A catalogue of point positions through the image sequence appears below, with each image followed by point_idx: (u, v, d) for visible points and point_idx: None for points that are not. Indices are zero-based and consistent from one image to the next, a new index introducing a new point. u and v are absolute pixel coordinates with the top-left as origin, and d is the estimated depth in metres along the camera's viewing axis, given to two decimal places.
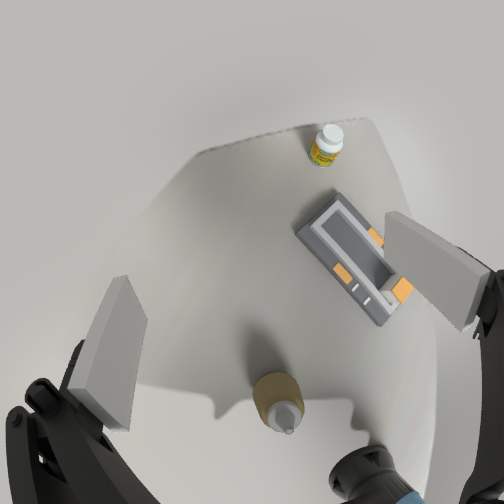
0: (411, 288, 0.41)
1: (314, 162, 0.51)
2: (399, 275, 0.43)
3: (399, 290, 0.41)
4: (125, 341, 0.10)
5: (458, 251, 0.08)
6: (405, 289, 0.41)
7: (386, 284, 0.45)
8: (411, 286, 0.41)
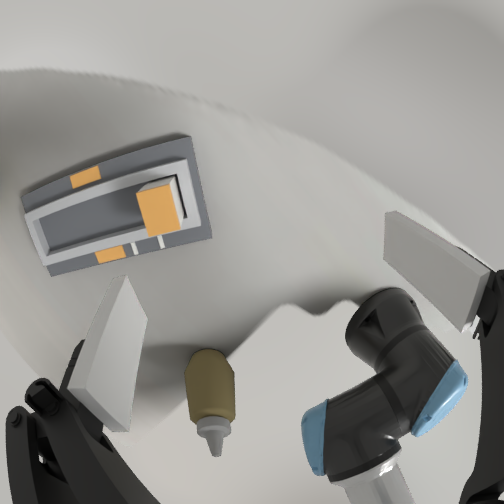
0: (168, 197, 0.23)
1: None
2: None
3: (156, 223, 0.24)
4: (125, 341, 0.10)
5: (458, 251, 0.08)
6: (162, 210, 0.24)
7: None
8: (164, 195, 0.23)
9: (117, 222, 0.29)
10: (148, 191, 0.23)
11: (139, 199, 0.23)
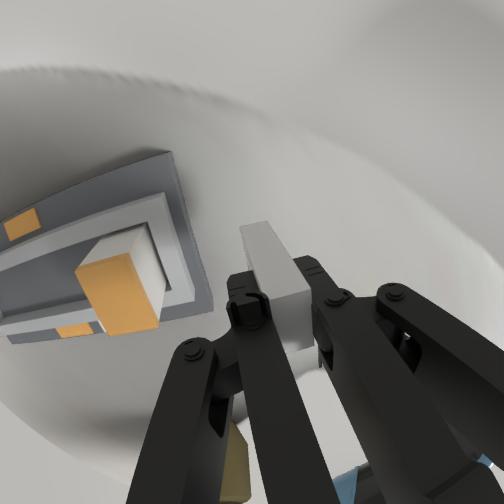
0: (128, 279, 0.12)
1: None
2: None
3: (117, 318, 0.13)
4: None
5: (289, 265, 0.10)
6: (122, 300, 0.13)
7: None
8: (122, 276, 0.12)
9: (73, 289, 0.18)
10: (93, 269, 0.12)
11: (82, 281, 0.12)
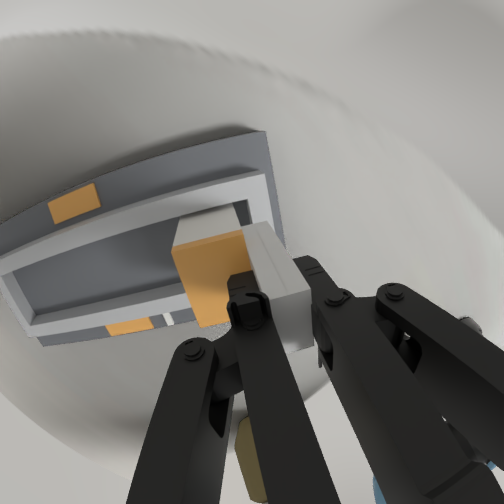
0: (241, 258, 0.12)
1: None
2: None
3: (216, 305, 0.13)
4: None
5: (289, 265, 0.10)
6: None
7: None
8: (234, 255, 0.12)
9: (135, 278, 0.18)
10: (198, 248, 0.11)
11: (179, 263, 0.12)
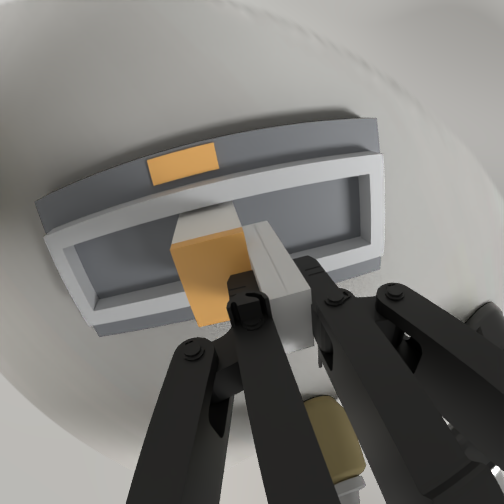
0: (241, 257, 0.12)
1: None
2: None
3: (215, 304, 0.13)
4: None
5: (289, 265, 0.10)
6: None
7: None
8: (234, 253, 0.12)
9: None
10: (198, 245, 0.11)
11: (178, 261, 0.11)
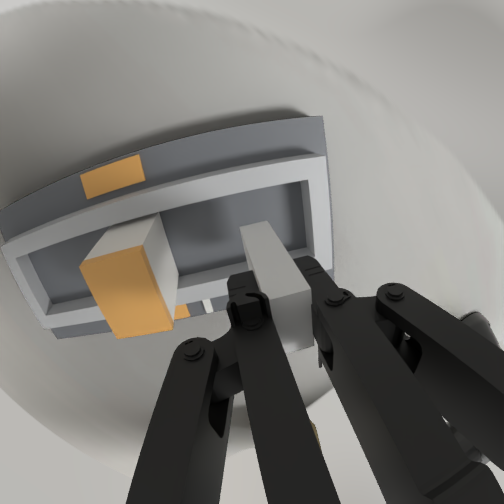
0: (141, 275, 0.11)
1: None
2: None
3: (127, 319, 0.12)
4: None
5: (289, 264, 0.10)
6: (133, 299, 0.11)
7: None
8: (134, 271, 0.11)
9: (176, 261, 0.17)
10: (101, 263, 0.10)
11: (87, 278, 0.11)
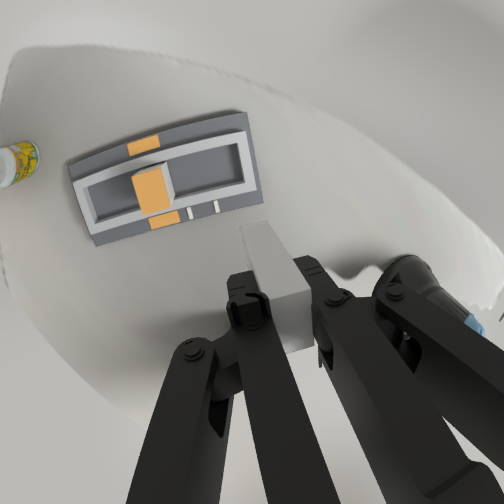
0: (159, 179, 0.26)
1: (29, 175, 0.27)
2: None
3: (149, 202, 0.27)
4: None
5: (289, 265, 0.10)
6: (154, 191, 0.26)
7: None
8: (156, 177, 0.26)
9: (174, 188, 0.32)
10: (142, 174, 0.25)
11: (134, 182, 0.26)
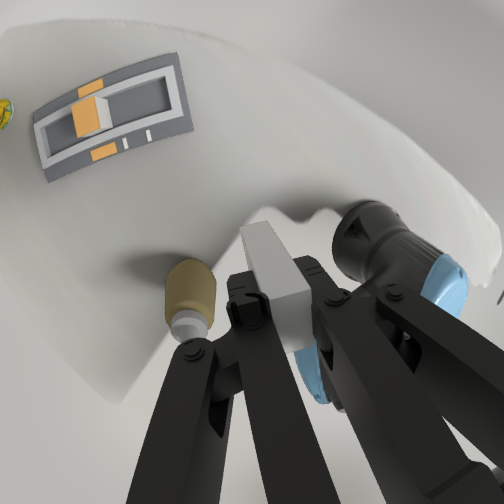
0: (91, 105, 0.24)
1: (4, 127, 0.26)
2: None
3: (83, 125, 0.25)
4: None
5: (289, 265, 0.10)
6: (87, 115, 0.25)
7: None
8: (89, 104, 0.24)
9: (113, 122, 0.30)
10: (79, 103, 0.24)
11: (73, 109, 0.24)
